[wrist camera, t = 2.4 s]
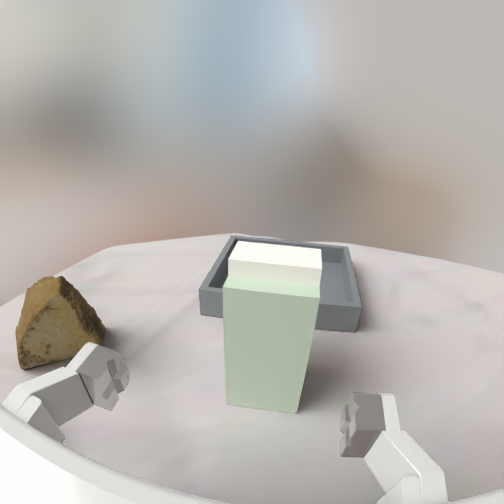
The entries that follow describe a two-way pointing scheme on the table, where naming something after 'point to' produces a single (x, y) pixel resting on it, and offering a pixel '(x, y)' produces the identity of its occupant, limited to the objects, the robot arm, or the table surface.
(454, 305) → the table surface
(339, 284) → the tray
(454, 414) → the table surface
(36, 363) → the rock
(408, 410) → the table surface
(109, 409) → the robot arm
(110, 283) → the table surface
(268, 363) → the juice carton
